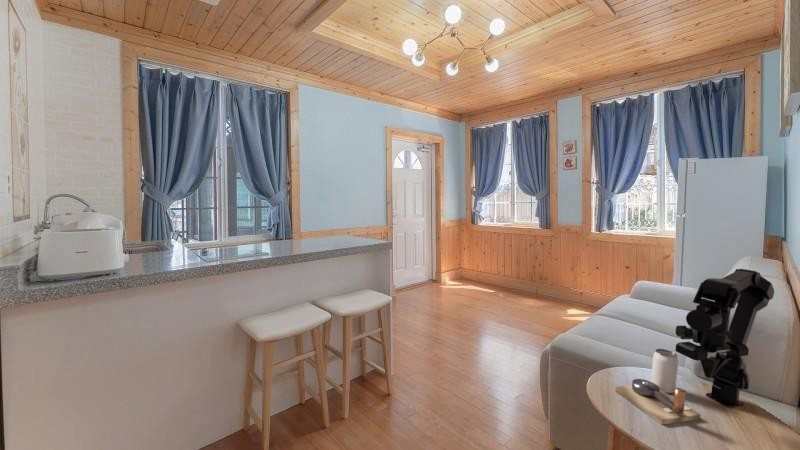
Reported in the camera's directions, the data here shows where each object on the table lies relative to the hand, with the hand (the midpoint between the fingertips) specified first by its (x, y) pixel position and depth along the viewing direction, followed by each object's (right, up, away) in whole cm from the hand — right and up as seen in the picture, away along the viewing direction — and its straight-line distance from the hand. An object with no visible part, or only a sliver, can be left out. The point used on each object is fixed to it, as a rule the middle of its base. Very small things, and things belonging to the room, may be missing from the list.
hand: (708, 377), depth 101 cm
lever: (-11, -9, +5) cm, 15 cm away
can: (-3, -10, +14) cm, 17 cm away
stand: (-12, -10, +5) cm, 16 cm away
